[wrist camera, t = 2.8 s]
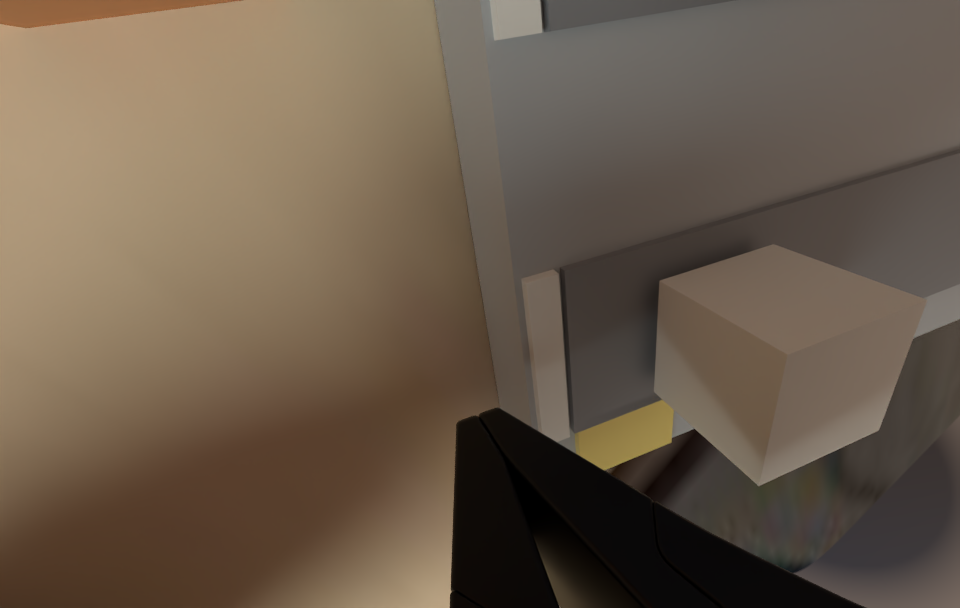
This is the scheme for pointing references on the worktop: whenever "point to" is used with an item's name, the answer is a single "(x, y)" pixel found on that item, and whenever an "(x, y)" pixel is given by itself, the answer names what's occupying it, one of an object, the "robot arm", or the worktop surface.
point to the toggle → (780, 356)
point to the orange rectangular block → (83, 10)
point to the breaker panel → (688, 175)
